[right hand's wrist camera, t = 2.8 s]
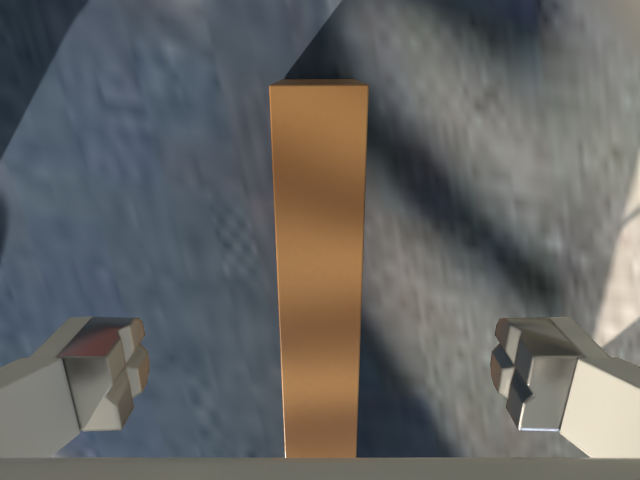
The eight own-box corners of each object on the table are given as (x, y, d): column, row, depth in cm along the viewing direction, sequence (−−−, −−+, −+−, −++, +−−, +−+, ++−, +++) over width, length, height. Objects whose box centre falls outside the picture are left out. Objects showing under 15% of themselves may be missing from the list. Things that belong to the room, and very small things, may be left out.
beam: (282, 79, 30) (268, 84, 22) (355, 78, 30) (368, 84, 22) (300, 644, 53) (297, 748, 45) (342, 643, 53) (346, 748, 45)
